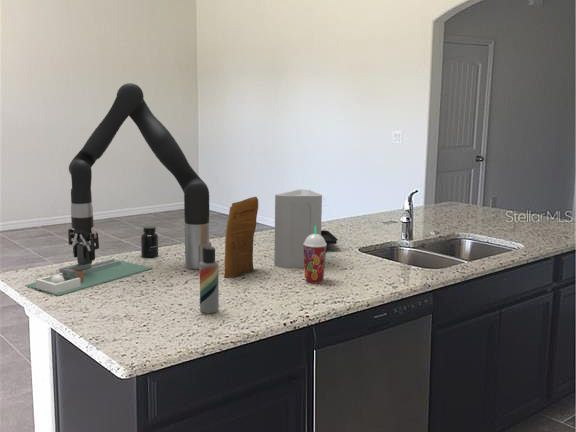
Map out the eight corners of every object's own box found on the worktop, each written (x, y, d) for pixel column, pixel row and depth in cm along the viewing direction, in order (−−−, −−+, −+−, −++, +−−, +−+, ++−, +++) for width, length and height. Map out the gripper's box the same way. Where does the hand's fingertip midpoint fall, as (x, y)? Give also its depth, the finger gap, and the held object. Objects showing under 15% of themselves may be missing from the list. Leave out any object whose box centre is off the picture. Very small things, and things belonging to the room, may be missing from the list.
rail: (121, 264, 239) (120, 260, 238) (57, 281, 216) (57, 277, 216) (113, 262, 241) (113, 258, 241) (50, 279, 218) (49, 275, 218)
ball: (68, 284, 210) (64, 273, 208) (58, 291, 207) (54, 280, 205) (60, 282, 213) (56, 271, 211) (50, 289, 210) (46, 277, 208)
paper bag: (306, 272, 234) (307, 198, 229) (273, 266, 242) (274, 194, 236) (330, 261, 250) (332, 192, 244) (299, 256, 257) (300, 189, 252)
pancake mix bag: (263, 269, 237) (264, 196, 232) (231, 280, 222) (230, 203, 217) (250, 266, 241) (250, 194, 236) (217, 277, 226) (216, 201, 220)
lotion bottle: (200, 307, 193) (199, 244, 189) (218, 307, 194) (218, 244, 190) (199, 313, 188) (198, 249, 184) (218, 313, 188) (218, 249, 184)
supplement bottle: (154, 258, 250) (153, 229, 248) (138, 257, 251) (137, 228, 249) (161, 254, 257) (160, 226, 254) (145, 253, 258) (144, 225, 256)
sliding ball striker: (107, 274, 224) (106, 247, 222) (79, 282, 214) (78, 254, 212) (86, 269, 230) (85, 242, 229) (58, 276, 221) (57, 249, 219)
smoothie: (328, 279, 226) (329, 225, 222) (322, 285, 218) (323, 229, 214) (306, 276, 228) (307, 223, 224) (299, 282, 220) (300, 227, 217)
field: (152, 268, 235) (152, 267, 235) (58, 296, 202) (58, 295, 202) (120, 261, 245) (120, 260, 245) (25, 286, 212) (25, 285, 212)
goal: (80, 286, 211) (80, 278, 210) (55, 293, 203) (55, 285, 202) (61, 281, 217) (61, 272, 216) (36, 288, 209) (35, 279, 208)
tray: (268, 245, 275) (268, 234, 274) (297, 236, 294) (297, 225, 293) (325, 256, 259) (326, 244, 258) (353, 246, 277) (353, 234, 276)
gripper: (103, 215, 223) (105, 259, 226) (78, 211, 231) (80, 253, 234) (86, 218, 217) (88, 264, 220) (60, 214, 225) (63, 257, 228)
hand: (84, 258), depth 227 cm, fingers open, 8 cm apart
